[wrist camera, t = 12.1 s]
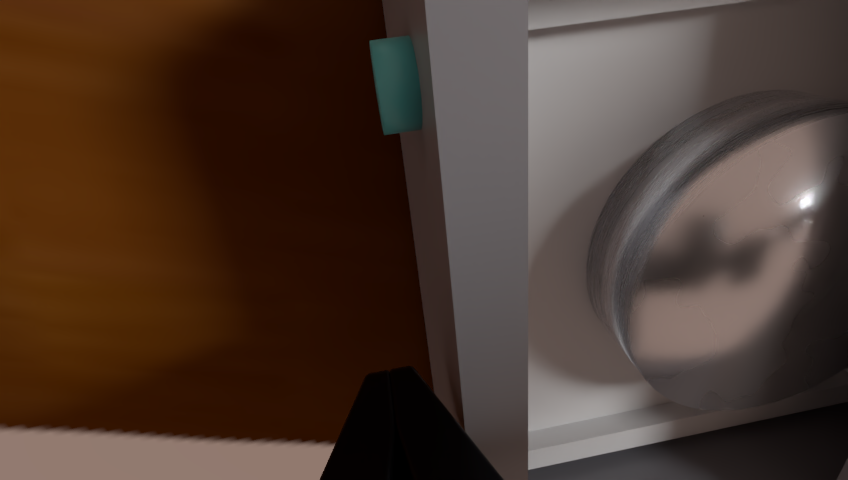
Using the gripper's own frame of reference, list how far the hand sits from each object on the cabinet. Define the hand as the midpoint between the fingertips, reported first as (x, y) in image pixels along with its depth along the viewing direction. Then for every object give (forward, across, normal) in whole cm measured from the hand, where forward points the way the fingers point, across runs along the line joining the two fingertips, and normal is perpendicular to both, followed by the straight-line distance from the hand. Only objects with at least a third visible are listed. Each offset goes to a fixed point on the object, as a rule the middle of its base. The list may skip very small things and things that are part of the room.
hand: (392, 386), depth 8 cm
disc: (+3, -8, 0) cm, 9 cm away
